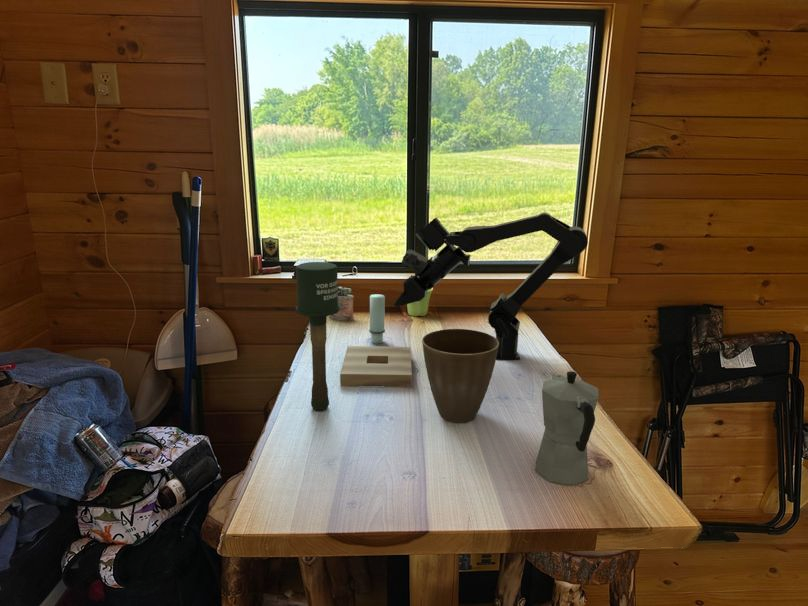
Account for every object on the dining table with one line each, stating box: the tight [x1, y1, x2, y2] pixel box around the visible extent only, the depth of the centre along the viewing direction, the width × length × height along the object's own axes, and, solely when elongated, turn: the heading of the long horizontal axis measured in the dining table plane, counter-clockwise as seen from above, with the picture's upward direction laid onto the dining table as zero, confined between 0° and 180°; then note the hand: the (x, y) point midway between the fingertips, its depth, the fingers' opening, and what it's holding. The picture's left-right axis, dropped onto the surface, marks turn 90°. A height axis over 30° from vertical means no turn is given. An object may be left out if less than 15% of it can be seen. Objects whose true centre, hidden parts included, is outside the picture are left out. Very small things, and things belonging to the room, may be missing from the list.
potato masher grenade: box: [295, 261, 340, 412], centre depth 112 cm, size 8×9×30 cm
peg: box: [368, 293, 386, 345], centre depth 154 cm, size 4×4×13 cm
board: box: [339, 345, 413, 388], centre depth 135 cm, size 18×16×3 cm
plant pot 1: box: [406, 287, 434, 317], centre depth 181 cm, size 9×9×9 cm
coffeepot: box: [534, 370, 600, 486], centre depth 92 cm, size 15×9×18 cm, turn 6°
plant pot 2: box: [421, 328, 499, 424], centre depth 113 cm, size 15×15×16 cm
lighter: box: [328, 286, 355, 322], centre depth 175 cm, size 8×3×10 cm, turn 73°
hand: (399, 301), depth 151 cm, fingers open, 9 cm apart
